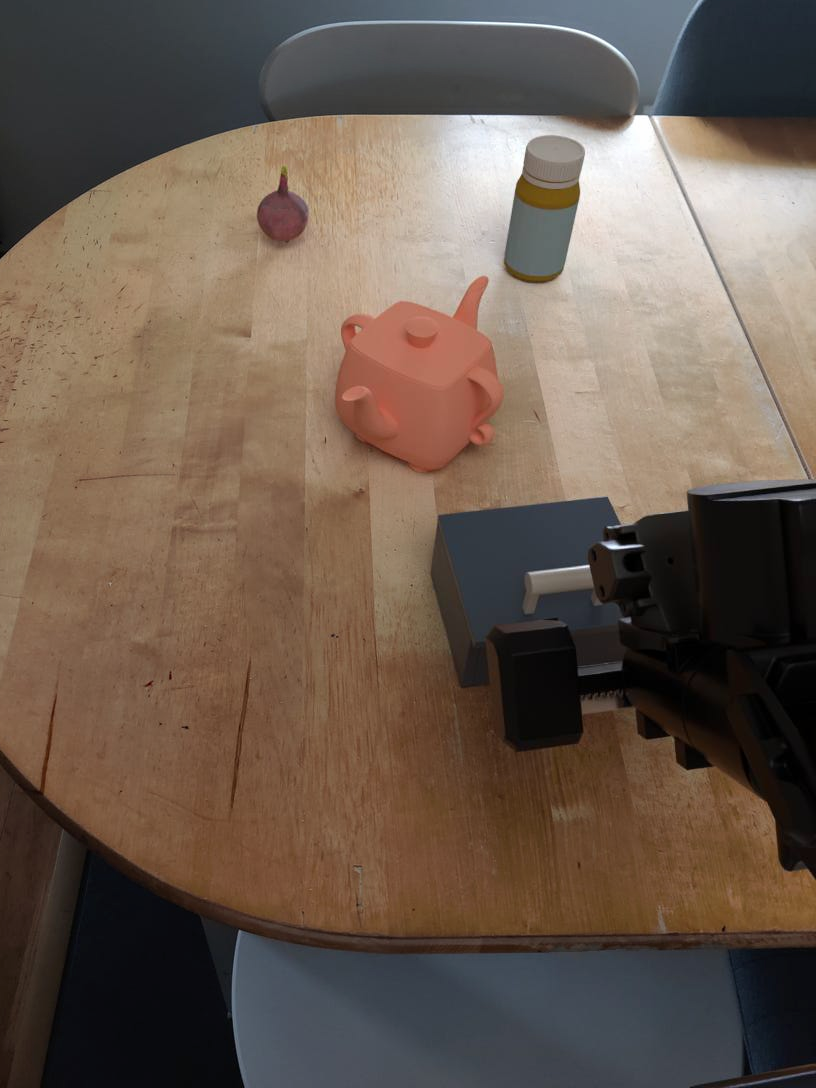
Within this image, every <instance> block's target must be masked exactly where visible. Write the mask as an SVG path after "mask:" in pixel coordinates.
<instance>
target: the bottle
mask: <svg viewBox="0 0 816 1088" xmlns="http://www.w3.org/2000/svg"><path fill="white" fill-rule="evenodd" d="M585 156H586V150H585V147H584V145H582V143H580V142H579V141H577V140H575V139H573V138H570V137H567V136H564V135H557V134H556V135H555V134H546V135H540V136H536V137H533V138H532V139H530V140H529V141H528V142H527V144H526V146H525V151H524V157H523V166H522V170H521V174H520V176H519V178H518V180H516V184H515V188H514V194H513V201H512V207H511V211H510V212H511V213H510V219H509V225H508V231H507V238H506V243H505V249H504V250H505V251H504V257H503V265H504V266H505V267H504V268H505V269H506V270H507V271H508V273H509V274H511V275H512V276H513V277H514V278H516V279H518V280H519V281H523V282H527V283H534V284H540V283H547V282H550V281H553V280H554V279H556V278H557V277H558V276H560V275H561V274H562V272H563V271H564V270H565V269H564V268H565V265H566V261H567V257H568V252H569V247H570V243H571V238H572V234H573V229H574V224H575V221H576V216H577V211H578V206H579V203H580V197H581V186H580V177H581V173H582V170H583V165H584V160H585Z"/></svg>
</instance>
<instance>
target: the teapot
mask: <svg viewBox="0 0 816 1088" xmlns="http://www.w3.org/2000/svg"><path fill="white" fill-rule="evenodd" d="M489 283H490V282H489V277H488V276H487V275H482V276H479V277H477V278H476V279H475V280H473V281H472V282H471V283H470V285H469V286H468V287H467V289H466V291H465V293H464V295H463V296H462V299H461V300H460V303H459V305H458V306H457V308H456V310H455V312H454V314H453V316H451V315H448V314H445V313H444V312H441V311H438V310H435V309H433V308H430V307H428V306H425V305H422V304H419V303H415V302H411V301H408V300H399V301H397V302H395V303H394V304H393V305H390V306H389V307H388V308H386V309H385V310H384V311H383V312H381V313H380V314H379V315H378V316H376V317H374V316H372V315H370V314H368V313H364V312H363V313H362V312H360V313H359V312H358V313H354V314H351V315H349V316H348V317H347V318H346V319H345V320H343V322H342V324H341V327H340V337H341V341H342V344H343V347H344V349H345V352H344V355H343V357H342V360H341V363H340V365H339V370H338V373H337V378H336V385H335V392H334V407H335V410H336V412H337V415H338V416H339V418H340V420H341V421H342V423H343V424H344V425H345V426H346V427H347V428H348V429H350V430H351V431H352V432H354V435H355V437H356V439H357V440H358V441H360V442H361V443H367V444H368V443H369V444H371V445H372V446H374V447H376V448H377V449H378V450H381V451H383V452H385V453H387V454H389V455H391V456H393V457H395V458H397V459H400V460H402V461H405V462H407V464H408V466H409V467H410V468H411V469H412V470H413V471H415V472H419V473H427V472H429V471H432V470H440V469H441V468H444V467H445V466H446V465H447V464H448V463H449V462H450V461H452V460H453V459H454V458H455V457H456V456H457V455H458V454H460V453H461V451H462V450H463V449H464V448H465V447H466V446H467V445H468V444H469V443H470V442H471V443H473V444H474V445H476V446H481V447H482V446H483V447H484V446H487V445H489V444H491V443H492V442H493V440H494V438H495V437H496V431H495V429H494V427H493V426H492V425H491V424H489V423H487V421H488V420H489V419H490V418H492V417H493V416H494V415H495V414H496V412H497V411H499V409H500V407H501V406H502V404H503V401H504V397H505V391H504V388H503V386H502V383H501V382H500V380H499V379H498V378H499V377H498V367H497V362H496V360H497V359H496V355H495V349H494V346H493V341H492V340H491V339H490V338H489V337H488V336H486V335H485V334H483V333H482V332H480V331H479V330H478V319H479V309H480V304H481V301H482V298H483V297H482V296H483V295H484V294H485V291H486V289H487V288H488V285H489ZM356 327H357V328H360V329H361V330H360V331H358V333H357V331H356Z"/></svg>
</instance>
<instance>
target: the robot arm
mask: <svg viewBox="0 0 816 1088" xmlns="http://www.w3.org/2000/svg"><path fill="white" fill-rule="evenodd" d="M685 491H686V502H687V503H686V504H687V510H679V511H671V512H660V513H653V514H647V515H644V516H643V517H641V518H640V519H639V518H638V520H636V521H635V522H633V523H626V524H621V525H617V526H609V527H605V528H604V529H603V538H604V542H597V543H596V544H594V545H593V546H591V547H590V548H589V550H588V562H589V566H590V571H591V575H592V580H593V584H594V589H595V593H596V596H597V598H598V599H599V601H600V602H601V603H602V604H606V603H616V604H617V605H618V606H619V607H620V611H621V613H622V615H623V616H624V617H631V618H623V619H618V627H619V637H620V643H621V644H622V645H623V646H625V647H628V648H627V649H626V652H625V654H624V658H623V661H619V662H611V663H603V664H596V665H588V666H581V667H577V656H576V647H575V644H574V641H573V639H572V636H571V633H570V631H569V628H568V626H567V625H566V624H565V623H563V622H561V621H558V618H557V617H556V618H548V619H540V620H532V621H524V622H517V623H511V624H503V625H495V626H494V627H493V628H492V629H491V631H490V632H489V633H488V634H487V636H486V637H485V639H486V650H487V660H488V670H489V680H490V684H489V690H490V700H491V709H492V721H493V729H494V733H495V734H496V735H497V736H498V737H499V738H500V740H501V742H503V743H504V744H505V745H507V746H508V747H509V748H510V749H512V751H514V752H515V753H522V752H529V751H535V750H542V749H543V750H544V749H550V748H551V749H552V748H557V747H565V746H572V745H578V744H580V742H581V740H582V737H583V736H584V735H583V734H584V731H585V730H584V722H583V721H584V720H583V715H590V714H597V713H604V712H611V711H619V710H626V709H634V710H635V720H636V731H637V734H638V735H639V736H640V737H641V738H643V739H645V740H646V741H649V740H656V739H657V740H658V739H663V738H669V737H670V738H673V741H674V742H673V743H674V752H675V753H674V754H675V762H676V764H678V765H679V766H680V767H682V768H683V769H684V770H686V771H693V770H699V769H707V768H713V767H715V768H716V769H718V770H719V771H720V772H722V773H724V774H725V775H726V776H728V777H729V778H731V779H732V780H734V781H735V782H737V783H738V784H739V785H741V786H742V787H743V788H745V789H746V790H748V791H749V792H751V793H752V794H754V795H755V796H756V797H758V798H759V799H761V800H762V801H764V802H765V803H766V804H767V806H768V807H769V810H770V812H771V814H772V815H771V816H773V819H774V824H775V825H774V826H775V836H776V846H777V858H778V862H779V865H780V866H781V868H782V869H783V870H784V871H786V872H788V873H789V872H790V873H792V872H799V871H804V870H805V871H806V870H808V871H809V873H810V874H811V876H812V877H813V879H814V880H815V881H816V479H815V478H813V479H812V478H792V479H791V478H789V479H788V478H787V479H786V478H784V479H762V480H746V481H736V482H735V481H734V482H725V483H717V484H710V485H709V484H708V485H704V486H703V485H702V486H697V487H693V488H690V489H687V490H685ZM689 1088H816V1063H809V1064H804V1065H797V1066H792V1067H787V1068H782V1069H776V1070H771V1071H766V1072H760V1073H753V1074H748V1075H743V1076H739V1077H733V1078H732V1077H731V1078H727V1079H723V1080H722V1079H721V1080H717V1081H711V1082H706V1083H700V1084H695V1085H692V1086H690V1087H689Z"/></svg>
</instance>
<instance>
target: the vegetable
mask: <svg viewBox="0 0 816 1088" xmlns="http://www.w3.org/2000/svg"><path fill="white" fill-rule="evenodd" d="M280 169H281V170H280V176H279V184H278V187H277V190H274V191H272V192H271V193H270V192H269V194H267V195H266V196H264V198H262V200H261V201H260V202H259V204H258V207H257V209H256V219H257V223H258V225H259V228H260V230H261V232H262V233H263V234H264V235H265V236H267V238H269V239H271V240H273V241H275V242H281V243H283V242H284V243H285V244H287V243H290V241H293V240H295V239H296V238H298V237H299V236H300V235H301V234H302V233H304V230H305V229H306V227H307V225H308V222H309V218H310V217H309V216H310V213H309V208H308V205H307V202H305V200H304V199H303V198H302V197H301V196H300V195H299V194H297V193H295V192H293V191H290V190H289V183H288V182H289V179H288V178H289V176H288V169H287V166H284V165H283V166H281V168H280Z"/></svg>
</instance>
